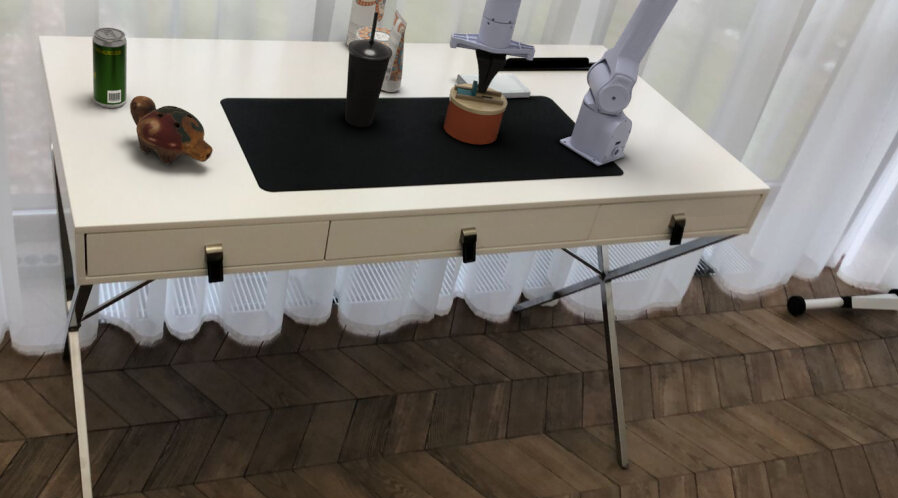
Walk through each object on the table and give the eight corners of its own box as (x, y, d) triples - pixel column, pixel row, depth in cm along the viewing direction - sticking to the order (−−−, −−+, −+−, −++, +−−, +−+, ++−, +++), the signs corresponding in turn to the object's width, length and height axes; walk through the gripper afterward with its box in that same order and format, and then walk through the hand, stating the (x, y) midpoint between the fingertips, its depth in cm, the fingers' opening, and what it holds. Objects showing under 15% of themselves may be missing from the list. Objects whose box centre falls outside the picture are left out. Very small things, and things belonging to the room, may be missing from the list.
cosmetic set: (416, 97, 185) (435, 1, 173) (369, 96, 182) (386, -2, 170) (378, 40, 203) (394, -50, 191) (336, 38, 200) (349, -53, 188)
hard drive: (475, 93, 187) (531, 90, 191) (457, 73, 192) (512, 71, 197) (473, 100, 188) (529, 98, 192) (455, 81, 193) (510, 79, 198)
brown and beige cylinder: (495, 121, 182) (505, 85, 177) (501, 149, 174) (511, 111, 169) (441, 113, 181) (449, 76, 176) (443, 140, 173) (452, 102, 168)
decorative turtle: (143, 126, 160) (148, 82, 155) (223, 162, 157) (231, 118, 152) (108, 147, 152) (112, 101, 147) (191, 185, 149) (198, 139, 145)
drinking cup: (374, 135, 170) (394, 26, 158) (332, 124, 171) (348, 15, 158) (383, 116, 176) (403, 10, 164) (343, 106, 177) (359, 0, 165)
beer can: (132, 105, 164) (132, 38, 157) (102, 111, 161) (101, 43, 154) (117, 91, 167) (117, 25, 160) (87, 96, 164) (86, 29, 157)
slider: (474, 92, 174) (477, 80, 173) (475, 98, 172) (478, 86, 171) (456, 90, 174) (459, 77, 172) (457, 95, 172) (460, 83, 170)
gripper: (538, 14, 168) (519, 86, 176) (456, 1, 167) (440, 74, 175) (543, 30, 163) (523, 104, 171) (458, 17, 161) (442, 91, 169)
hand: (481, 90), depth 173 cm, fingers closed
